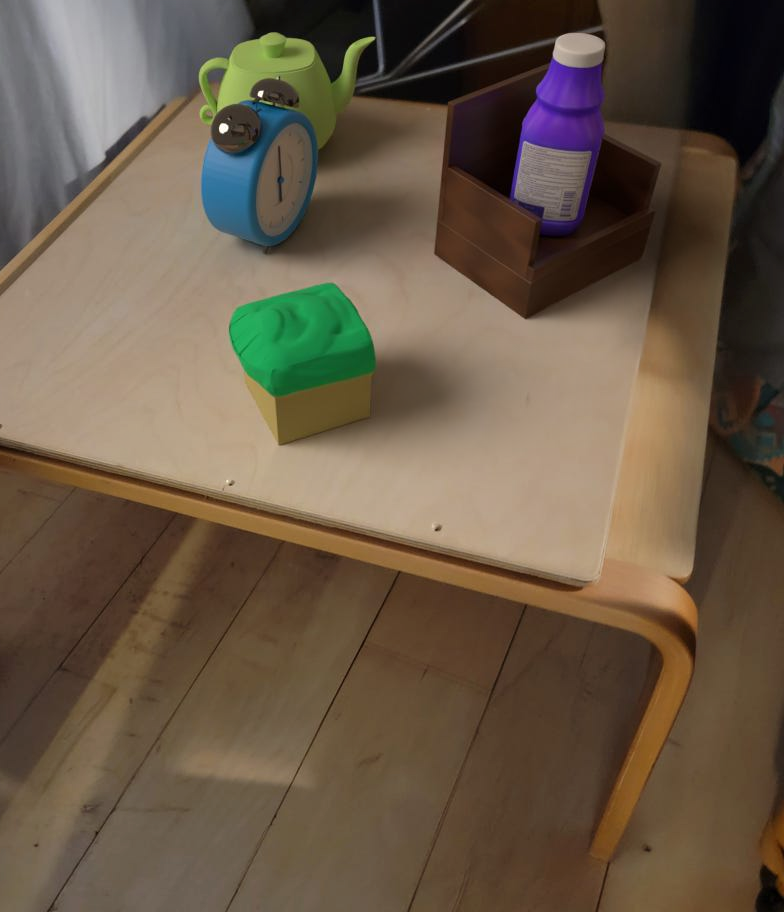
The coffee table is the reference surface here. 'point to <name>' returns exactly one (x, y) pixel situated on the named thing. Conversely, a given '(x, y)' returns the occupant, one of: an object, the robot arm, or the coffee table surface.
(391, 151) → the coffee table surface
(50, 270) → the coffee table surface
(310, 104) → the teapot
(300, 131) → the alarm clock
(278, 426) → the cake
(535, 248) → the box
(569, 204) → the bottle
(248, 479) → the coffee table surface
